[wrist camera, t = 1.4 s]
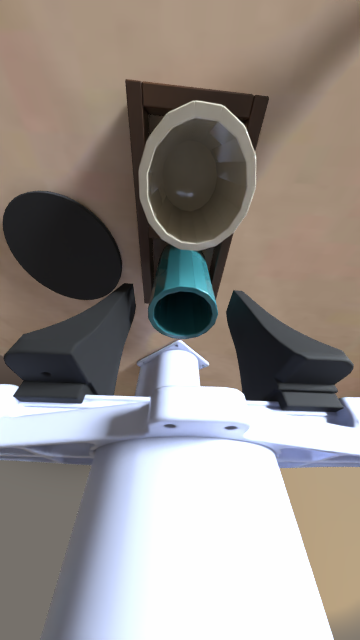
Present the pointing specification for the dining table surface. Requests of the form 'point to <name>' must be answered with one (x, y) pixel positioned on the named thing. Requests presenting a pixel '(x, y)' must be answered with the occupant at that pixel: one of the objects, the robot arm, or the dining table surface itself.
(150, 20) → the dining table surface
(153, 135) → the cream cup
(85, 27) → the dining table surface
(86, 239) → the coaster
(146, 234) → the holder
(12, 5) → the dining table surface
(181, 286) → the teal cup
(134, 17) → the dining table surface
